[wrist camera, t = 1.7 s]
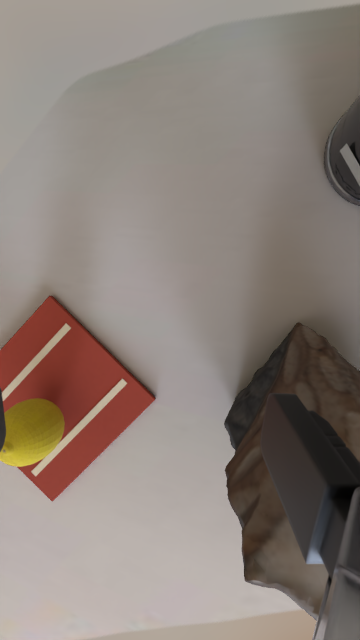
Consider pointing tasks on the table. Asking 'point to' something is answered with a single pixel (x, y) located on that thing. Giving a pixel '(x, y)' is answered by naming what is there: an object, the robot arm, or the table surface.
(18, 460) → the lemon
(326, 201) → the table surface
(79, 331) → the pot holder
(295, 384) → the brown rock
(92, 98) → the table surface
